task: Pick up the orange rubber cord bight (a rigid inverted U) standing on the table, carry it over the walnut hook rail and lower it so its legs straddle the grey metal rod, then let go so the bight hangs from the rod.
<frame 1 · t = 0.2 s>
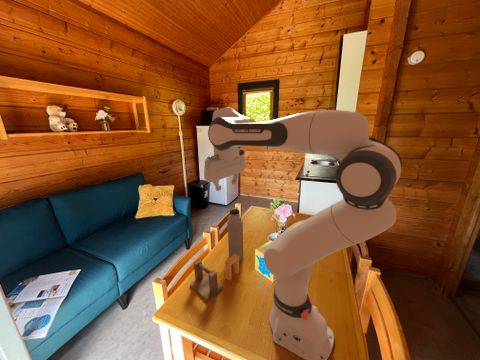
hand: (226, 186, 81), 47 cm above the table, fingers open, 8 cm apart
cord bight: (232, 275, 98), on the table
hook rail: (206, 287, 91), on the table
thermos bottle: (236, 256, 111), on the table
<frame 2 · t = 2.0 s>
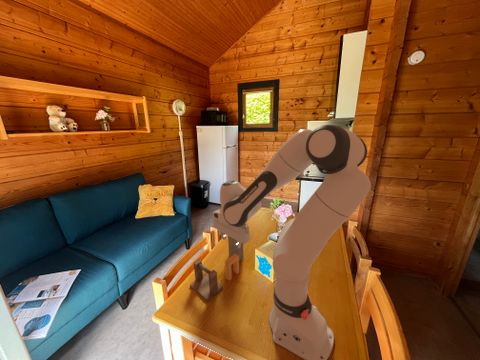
hand: (230, 243, 92), 18 cm above the table, fingers open, 8 cm apart
nothing on the table moved.
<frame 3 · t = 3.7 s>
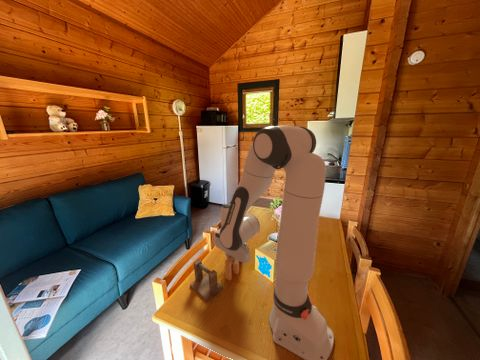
hand: (232, 261, 95), 8 cm above the table, fingers closed on cord bight, 2 cm apart
cord bight: (232, 275, 98), on the table, touching gripper
everything else where it was.
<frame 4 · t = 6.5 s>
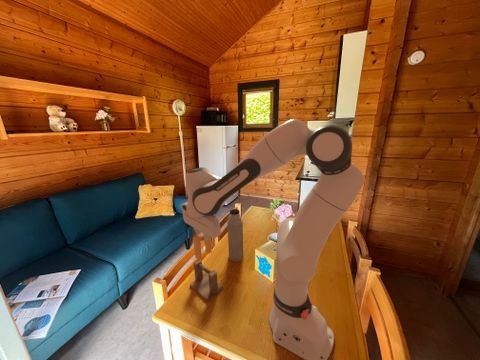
hand: (202, 238, 83), 26 cm above the table, fingers closed on cord bight, 2 cm apart
cord bight: (203, 254, 86), point 18 cm above the table, touching gripper
everything else where it was.
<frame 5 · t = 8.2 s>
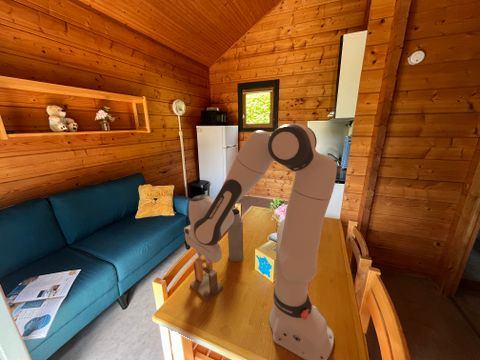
hand: (203, 260, 87), 15 cm above the table, fingers closed on cord bight, 2 cm apart
cord bight: (205, 275, 89), point 7 cm above the table, touching gripper
everything else where it was.
when the fingers open (12 cm above the table, at t = 9.4 s): cord bight drops 1 cm, resting on hook rail.
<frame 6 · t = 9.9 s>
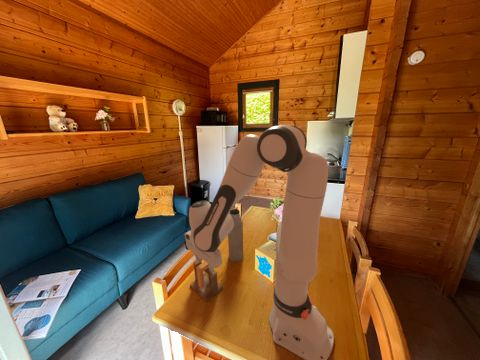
hand: (204, 265, 87), 12 cm above the table, fingers open, 7 cm apart
cord bight: (206, 282, 90), point 3 cm above the table, touching hook rail
everything else where it was.
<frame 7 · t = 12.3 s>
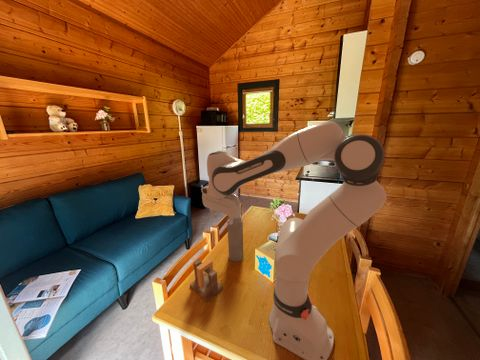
hand: (222, 220, 86), 31 cm above the table, fingers open, 8 cm apart
nothing on the table moved.
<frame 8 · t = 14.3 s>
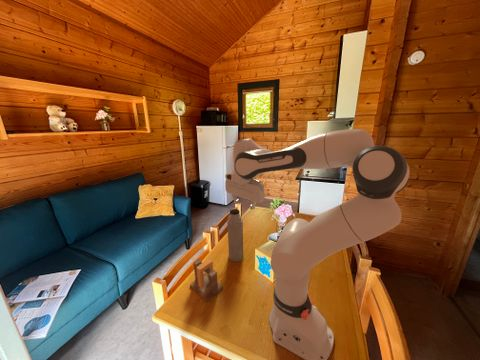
hand: (244, 206, 91), 35 cm above the table, fingers open, 8 cm apart
nothing on the table moved.
at the end: cord bight 0.0 cm from the hook rail (horizontally); cord bight point 2.8 cm above the table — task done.
